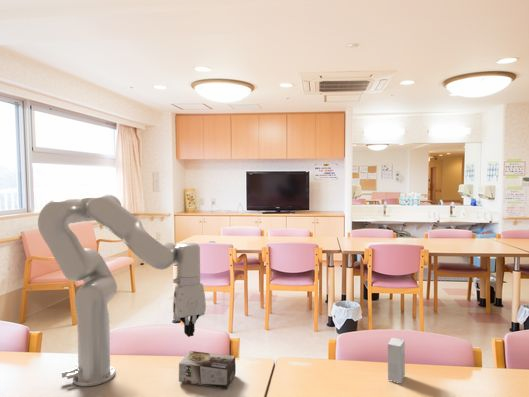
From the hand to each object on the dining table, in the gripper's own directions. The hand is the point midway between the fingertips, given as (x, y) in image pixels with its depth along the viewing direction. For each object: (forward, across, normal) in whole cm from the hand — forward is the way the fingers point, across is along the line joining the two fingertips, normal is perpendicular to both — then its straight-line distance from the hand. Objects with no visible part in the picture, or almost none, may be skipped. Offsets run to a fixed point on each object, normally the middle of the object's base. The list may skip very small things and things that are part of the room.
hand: (189, 335), depth 124 cm
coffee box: (+9, -3, -2) cm, 9 cm away
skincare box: (+13, +53, -42) cm, 69 cm away
